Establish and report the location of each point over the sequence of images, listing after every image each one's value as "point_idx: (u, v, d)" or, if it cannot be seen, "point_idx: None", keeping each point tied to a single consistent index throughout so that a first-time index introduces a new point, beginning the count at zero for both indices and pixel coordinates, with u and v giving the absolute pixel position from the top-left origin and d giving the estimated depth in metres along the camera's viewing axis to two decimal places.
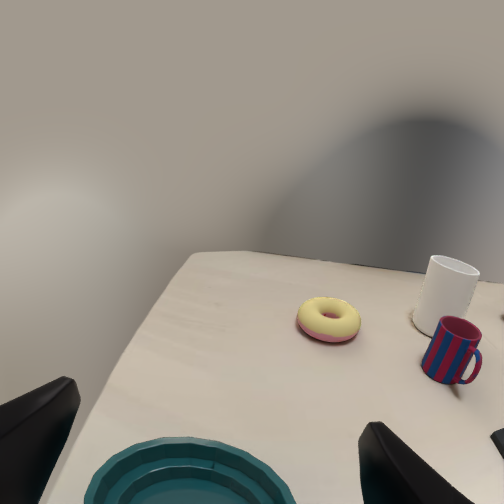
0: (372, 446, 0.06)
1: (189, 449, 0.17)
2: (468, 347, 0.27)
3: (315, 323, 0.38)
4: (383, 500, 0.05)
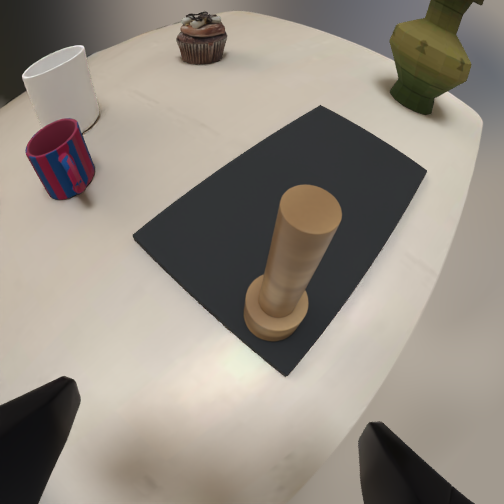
0: (372, 446, 0.06)
1: None
2: (58, 156, 0.24)
3: None
4: (383, 500, 0.05)
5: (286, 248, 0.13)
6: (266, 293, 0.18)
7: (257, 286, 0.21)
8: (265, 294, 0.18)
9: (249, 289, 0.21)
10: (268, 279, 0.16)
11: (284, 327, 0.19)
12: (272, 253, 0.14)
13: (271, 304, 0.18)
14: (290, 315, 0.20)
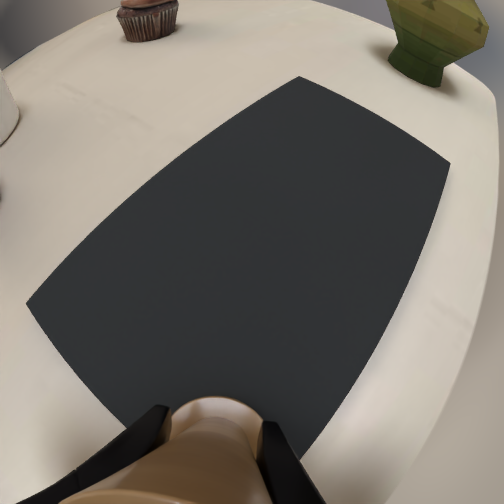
0: (260, 447, 0.06)
1: None
2: None
3: None
4: None
5: None
6: None
7: (181, 423, 0.10)
8: None
9: None
10: None
11: None
12: None
13: None
14: None
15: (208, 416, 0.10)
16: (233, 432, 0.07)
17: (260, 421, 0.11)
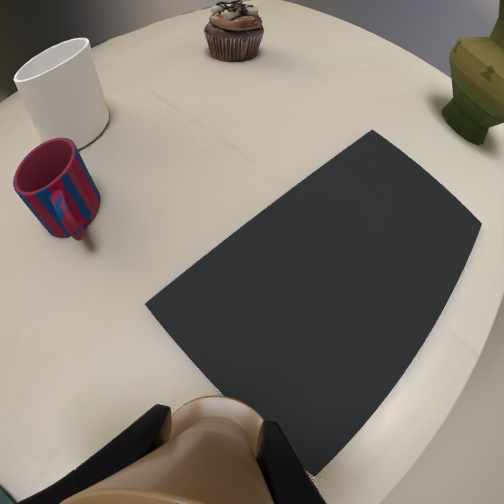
0: (260, 447, 0.06)
1: None
2: (51, 195, 0.19)
3: None
4: None
5: None
6: None
7: (181, 423, 0.10)
8: None
9: None
10: None
11: None
12: None
13: None
14: None
15: (209, 416, 0.11)
16: (234, 432, 0.07)
17: (261, 421, 0.11)
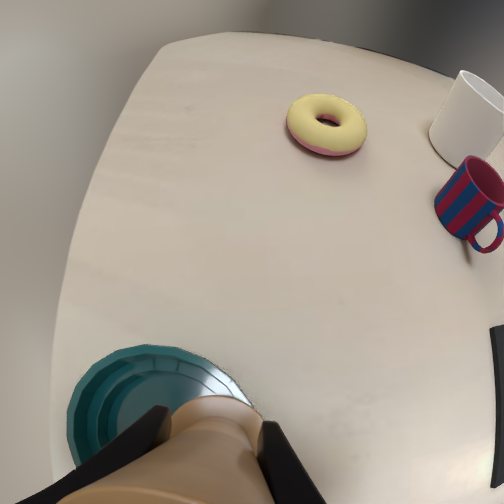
0: (260, 447, 0.06)
1: (148, 356, 0.17)
2: (492, 211, 0.22)
3: (307, 133, 0.29)
4: None
5: None
6: None
7: (181, 422, 0.10)
8: None
9: None
10: None
11: None
12: None
13: None
14: None
15: (209, 415, 0.11)
16: (234, 431, 0.07)
17: (261, 420, 0.11)
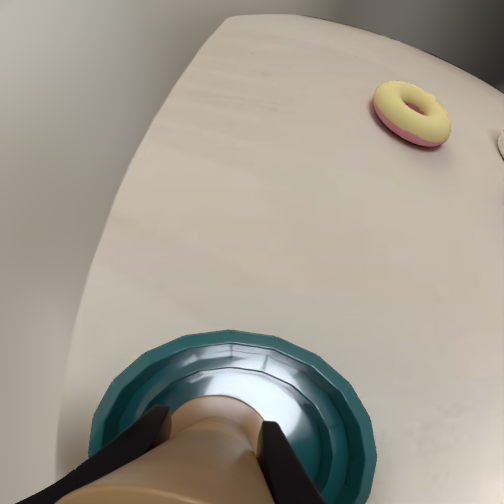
0: (260, 447, 0.06)
1: (229, 346, 0.12)
2: None
3: (399, 116, 0.23)
4: None
5: None
6: None
7: (181, 422, 0.10)
8: None
9: None
10: None
11: None
12: None
13: None
14: None
15: (208, 415, 0.11)
16: (234, 430, 0.07)
17: (261, 420, 0.11)
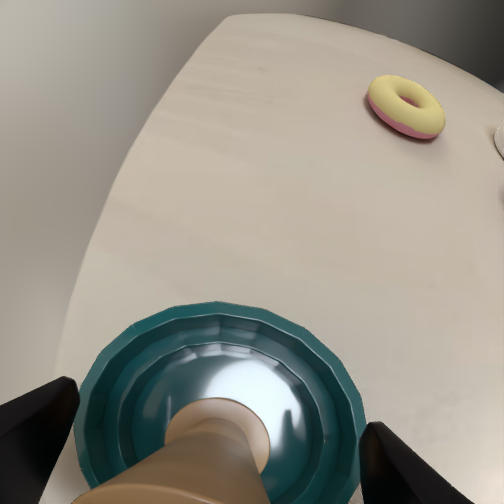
0: (372, 446, 0.06)
1: (217, 320, 0.13)
2: None
3: (393, 108, 0.24)
4: (383, 500, 0.05)
5: None
6: None
7: (182, 424, 0.11)
8: None
9: (169, 429, 0.10)
10: None
11: None
12: None
13: None
14: None
15: (209, 417, 0.11)
16: (233, 432, 0.08)
17: (259, 422, 0.11)
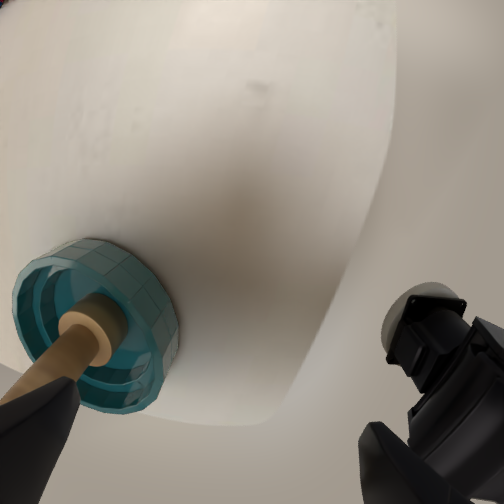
0: (372, 446, 0.06)
1: (28, 332, 0.17)
2: None
3: None
4: (383, 500, 0.05)
5: None
6: None
7: None
8: (79, 377, 0.15)
9: None
10: None
11: (104, 336, 0.17)
12: None
13: (85, 367, 0.15)
14: (92, 330, 0.17)
15: None
16: None
17: (63, 316, 0.16)
